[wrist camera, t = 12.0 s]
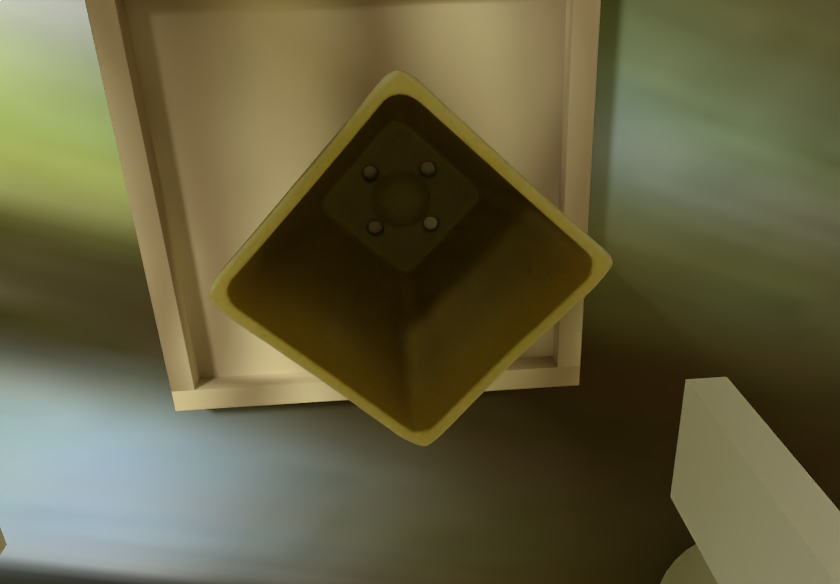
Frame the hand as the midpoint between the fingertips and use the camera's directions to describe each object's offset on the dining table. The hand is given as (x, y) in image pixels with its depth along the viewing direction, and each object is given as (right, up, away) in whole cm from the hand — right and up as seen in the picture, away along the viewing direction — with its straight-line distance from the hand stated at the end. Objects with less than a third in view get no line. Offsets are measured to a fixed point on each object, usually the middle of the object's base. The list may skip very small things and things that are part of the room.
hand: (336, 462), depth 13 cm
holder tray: (-1, +7, +16) cm, 18 cm away
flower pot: (+1, +7, +16) cm, 17 cm away
